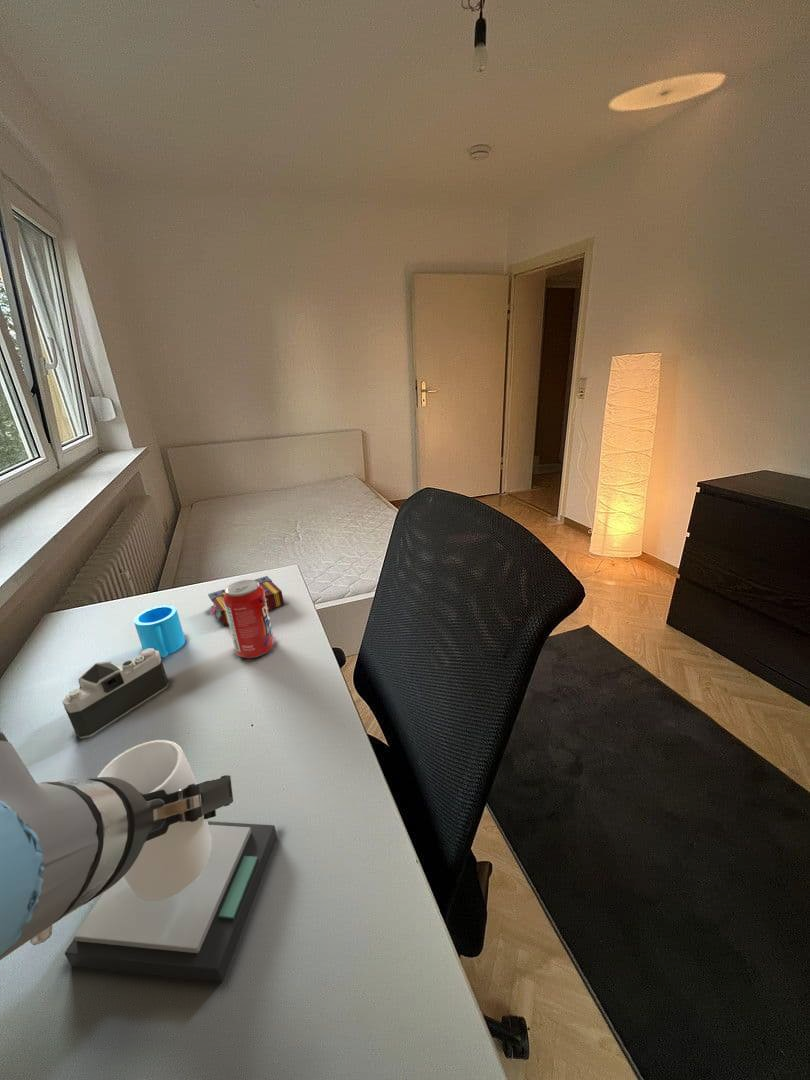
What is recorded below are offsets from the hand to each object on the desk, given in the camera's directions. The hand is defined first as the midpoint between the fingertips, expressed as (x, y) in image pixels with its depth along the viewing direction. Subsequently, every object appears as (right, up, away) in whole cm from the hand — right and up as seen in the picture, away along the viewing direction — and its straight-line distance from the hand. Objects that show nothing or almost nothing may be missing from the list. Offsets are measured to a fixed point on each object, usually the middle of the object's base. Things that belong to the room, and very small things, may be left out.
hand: (167, 807), depth 49 cm
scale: (+2, -10, +1) cm, 10 cm away
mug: (-25, +5, +46) cm, 53 cm away
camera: (-25, 0, +31) cm, 40 cm away
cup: (+1, -6, -1) cm, 6 cm away
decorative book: (-13, +12, +62) cm, 64 cm away
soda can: (-5, +6, +45) cm, 45 cm away
